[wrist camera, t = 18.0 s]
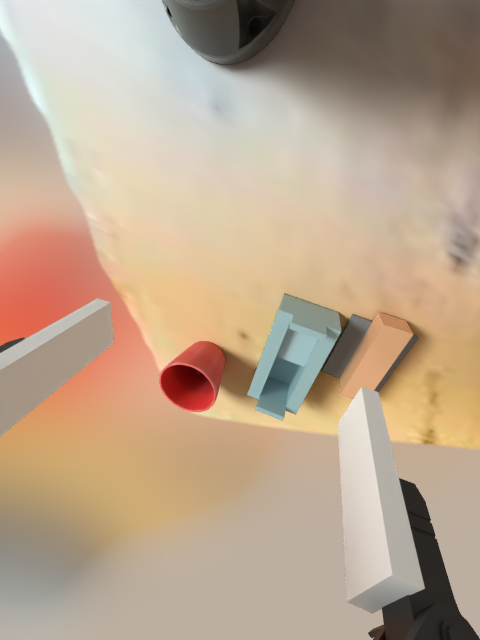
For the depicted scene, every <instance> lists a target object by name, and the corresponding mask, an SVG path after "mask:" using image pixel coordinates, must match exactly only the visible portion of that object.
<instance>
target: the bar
mask: <svg viewBox="0 0 480 640" xmlns="http://www.w3.org/2000/svg"><path fill="white" fill-rule="evenodd" d="M412 336H413V332H412V331H411V329H410V327H409V326H408V324H407V322H406V321H405V320H402V319H399V318H396V317H393V316H390V315H386V314H383V313H380V312H378V313H377V315H376V317H375V318H374V320H373V322H372V323H371V325H370V327H369V329H368V330H367V332H366V334H365V335H364V337H363V339H362V341H361V342H360V344H359V346H358V347H357V349H356V351H355V352H354V354H353V356H352V358H351V359H350V361H349V363H348V364H347V366H346V368H345V370H344V371H343V373H342V375H341V376H340V378H339V383H340V395H343V396H346V397H349V398H351V399H354V398H355V396H356V394H357V393H358V391H359V390H360V388H361V387H364V388H367V389H370V390H373V391H374V390H375V388H376V387H377V385H378V384H379V383H380V381H381V380H382V378H383V377H384V376H385V374H386V373H387V371H388V370H389V368H390V367H391V366H392V364H393V363H394V361H395V360H396V359H397V357H398V356H399V354H400V353H401V351H402V350H403V349H404V347H405V346H406V344H407V343H408V342H409V340H410V339H411V337H412Z"/></svg>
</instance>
